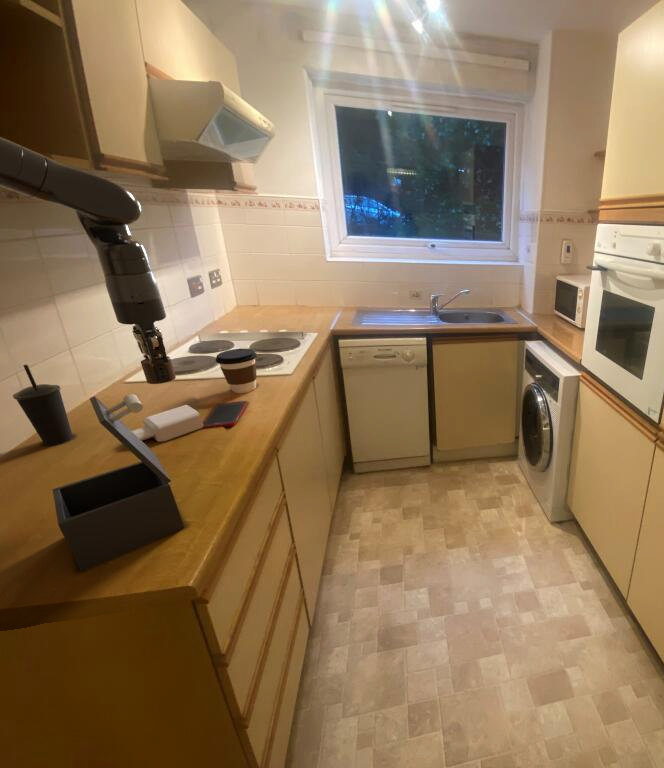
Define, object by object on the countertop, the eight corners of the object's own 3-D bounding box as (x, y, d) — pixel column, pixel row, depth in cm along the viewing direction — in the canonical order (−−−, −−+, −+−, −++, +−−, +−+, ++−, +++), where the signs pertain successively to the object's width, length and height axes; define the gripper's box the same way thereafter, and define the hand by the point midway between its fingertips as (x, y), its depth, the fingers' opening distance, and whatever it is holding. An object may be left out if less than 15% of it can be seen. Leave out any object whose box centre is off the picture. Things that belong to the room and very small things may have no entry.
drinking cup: (44, 439, 106) (9, 362, 99) (85, 432, 110) (54, 357, 102) (31, 454, 100) (-7, 373, 92) (75, 445, 103) (41, 367, 96)
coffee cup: (230, 384, 139) (221, 349, 135) (267, 381, 142) (260, 346, 138) (219, 398, 130) (208, 360, 125) (259, 394, 133) (251, 357, 128)
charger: (120, 443, 105) (190, 419, 116) (133, 455, 100) (205, 428, 111) (113, 426, 103) (185, 403, 114) (125, 437, 98) (199, 412, 109)
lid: (99, 422, 65) (137, 402, 67) (89, 398, 72) (123, 380, 75) (166, 484, 73) (197, 463, 76) (150, 456, 81) (179, 439, 84)
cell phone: (248, 403, 126) (247, 400, 126) (234, 426, 113) (234, 423, 113) (217, 406, 124) (216, 403, 123) (200, 430, 111) (199, 427, 111)
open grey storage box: (82, 574, 68) (58, 524, 64) (74, 535, 76) (52, 489, 72) (185, 530, 77) (169, 484, 73) (168, 500, 85) (153, 457, 81)
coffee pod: (149, 386, 87) (143, 365, 85) (144, 379, 90) (138, 359, 88) (178, 379, 90) (172, 359, 89) (172, 374, 93) (167, 354, 92)
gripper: (104, 294, 86) (131, 374, 92) (116, 304, 77) (145, 393, 83) (152, 289, 91) (174, 366, 97) (168, 299, 82) (191, 382, 88)
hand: (161, 378), depth 90 cm, fingers closed on coffee pod, 4 cm apart
